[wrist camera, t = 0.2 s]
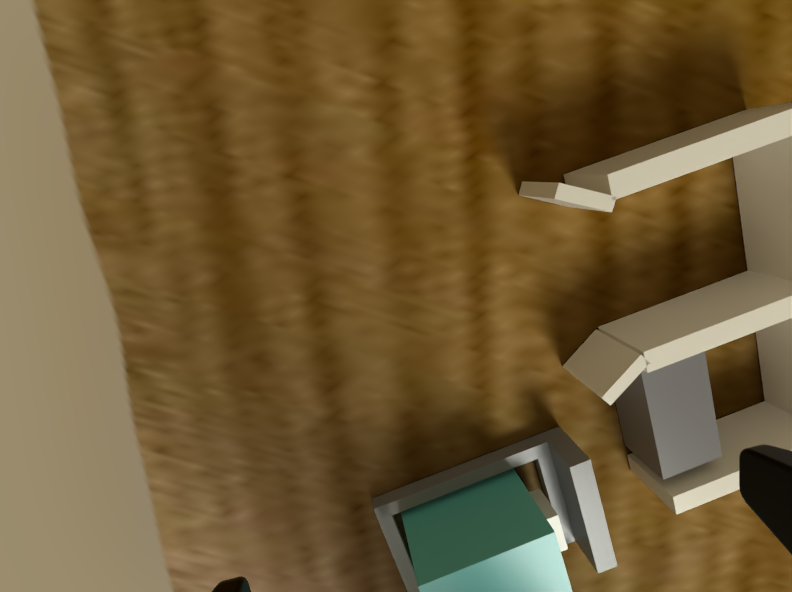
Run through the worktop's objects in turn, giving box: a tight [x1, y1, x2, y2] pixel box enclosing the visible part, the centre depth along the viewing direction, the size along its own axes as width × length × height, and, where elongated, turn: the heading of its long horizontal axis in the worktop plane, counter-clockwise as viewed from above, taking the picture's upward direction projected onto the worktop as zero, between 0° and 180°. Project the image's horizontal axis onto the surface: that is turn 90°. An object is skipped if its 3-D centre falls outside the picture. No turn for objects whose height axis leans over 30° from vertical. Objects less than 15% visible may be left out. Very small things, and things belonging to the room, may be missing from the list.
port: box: [519, 102, 792, 515], centre depth 22 cm, size 11×16×4 cm
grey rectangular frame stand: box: [372, 427, 617, 592], centre depth 24 cm, size 10×6×3 cm, turn 109°
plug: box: [401, 468, 572, 592], centre depth 23 cm, size 7×4×5 cm, turn 109°
